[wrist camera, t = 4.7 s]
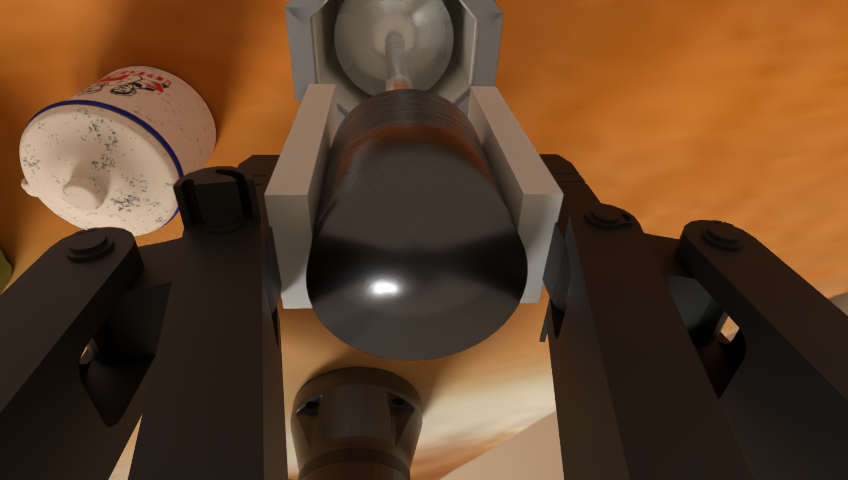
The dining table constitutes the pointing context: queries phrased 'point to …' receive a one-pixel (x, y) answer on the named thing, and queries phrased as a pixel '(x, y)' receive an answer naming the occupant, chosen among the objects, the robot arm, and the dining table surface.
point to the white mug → (319, 64)
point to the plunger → (409, 199)
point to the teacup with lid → (118, 150)
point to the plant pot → (4, 272)
